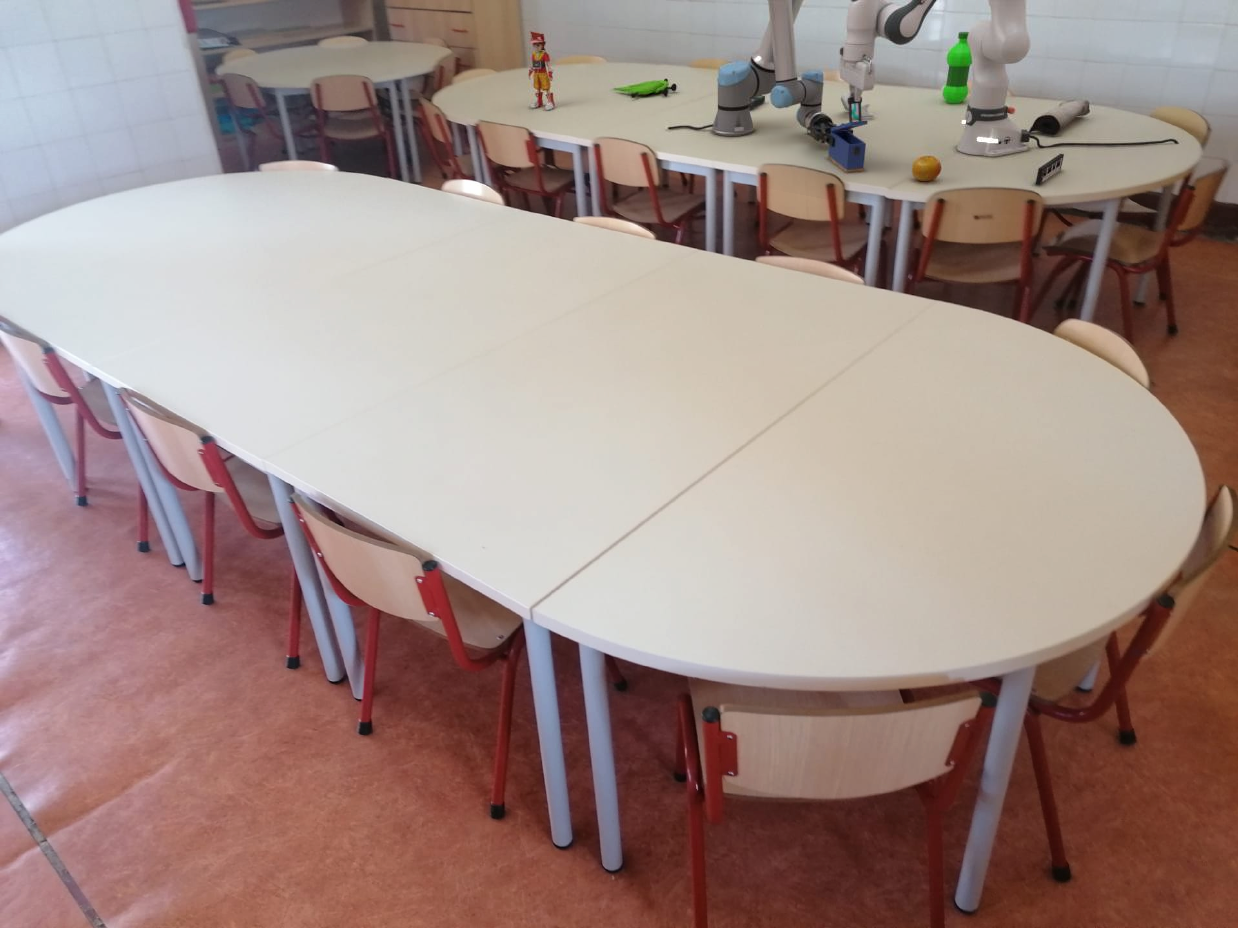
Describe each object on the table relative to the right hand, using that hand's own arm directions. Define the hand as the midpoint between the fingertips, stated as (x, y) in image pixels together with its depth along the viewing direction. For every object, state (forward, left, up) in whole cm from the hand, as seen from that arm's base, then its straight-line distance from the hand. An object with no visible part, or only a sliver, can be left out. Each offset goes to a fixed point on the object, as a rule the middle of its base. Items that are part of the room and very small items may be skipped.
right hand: (854, 100), depth 282 cm
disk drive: (+7, -91, -21) cm, 94 cm away
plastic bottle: (-70, -64, -21) cm, 98 cm away
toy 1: (+87, -122, -21) cm, 152 cm away
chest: (0, -3, -21) cm, 21 cm away
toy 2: (+42, -133, -21) cm, 141 cm away
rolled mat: (-87, -19, -21) cm, 92 cm away
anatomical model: (-27, -60, -21) cm, 69 cm away
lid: (0, -3, -9) cm, 10 cm away
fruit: (-16, +21, -21) cm, 34 cm away
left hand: (0, -7, -15) cm, 16 cm away
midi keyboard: (-52, +31, -21) cm, 64 cm away
